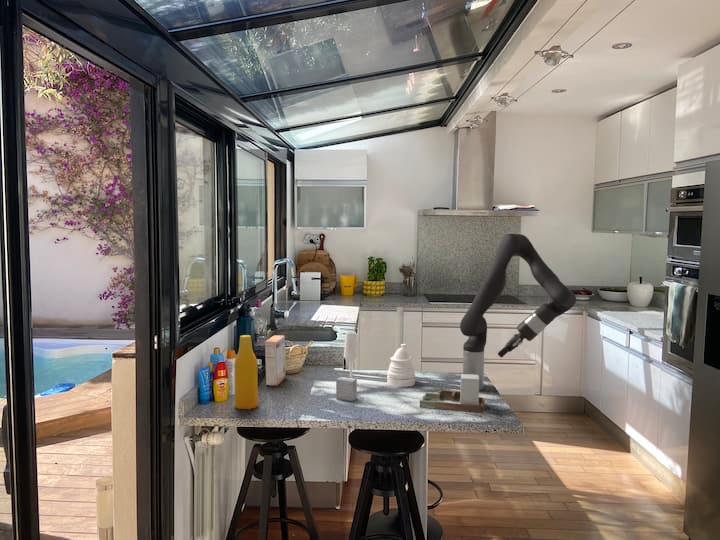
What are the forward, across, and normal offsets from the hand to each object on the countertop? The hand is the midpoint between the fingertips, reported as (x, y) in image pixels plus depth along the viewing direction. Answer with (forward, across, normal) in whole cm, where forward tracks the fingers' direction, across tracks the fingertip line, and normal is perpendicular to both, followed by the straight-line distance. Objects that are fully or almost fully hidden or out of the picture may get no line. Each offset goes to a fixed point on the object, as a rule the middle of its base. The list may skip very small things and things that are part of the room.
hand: (499, 355), depth 221 cm
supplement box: (+24, -1, -7) cm, 25 cm away
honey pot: (+48, +24, +17) cm, 56 cm away
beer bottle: (+84, -28, +55) cm, 104 cm away
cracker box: (+87, +8, +58) cm, 105 cm away
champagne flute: (+63, +16, +33) cm, 73 cm away
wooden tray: (+28, +2, -2) cm, 28 cm away
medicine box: (+59, -6, +29) cm, 66 cm away
